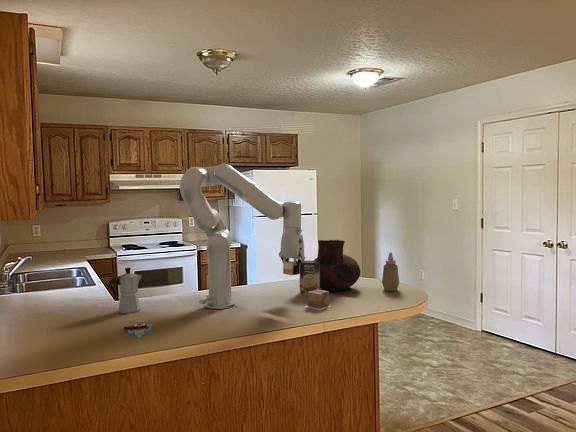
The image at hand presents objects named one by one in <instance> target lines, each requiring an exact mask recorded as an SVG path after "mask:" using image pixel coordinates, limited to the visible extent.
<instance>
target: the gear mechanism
mask: <svg viewBox="0 0 576 432" xmlns="http://www.w3.org/2000/svg"><path fill="white" fill-rule="evenodd" d="M123 331H127V334H134V337H137V339H139V340H140V339H142V336H144V335H145V333H147V332H152V324H146V323H145V315H142V320H141V319H139V320H136V321H135V324H133V325H131V326H124V327H123Z"/></svg>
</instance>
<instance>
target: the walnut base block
mask: <svg viewBox="0 0 576 432" xmlns="http://www.w3.org/2000/svg"><path fill="white" fill-rule="evenodd" d="M329 305H330V291H327V290H323V289H320V290H319V289H317V290H313V291H309V292H308V295H307V306H308V307H313V308H317V309H321V308H324V307H328V306H329ZM308 307H307V308H308ZM328 308H329V307H328ZM317 309H316V310H317Z"/></svg>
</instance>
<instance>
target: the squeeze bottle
mask: <svg viewBox="0 0 576 432" xmlns="http://www.w3.org/2000/svg"><path fill="white" fill-rule="evenodd" d="M396 262H397V260H396V259H394V256H393V252H392V251H390V252H388V258H387V259H385V264H384V265H383V270H382V280H381V284H382V286H383V290H384V291H387V292H396V291H398V288H399V284H400V277H399V266H398V265H397V264H396Z"/></svg>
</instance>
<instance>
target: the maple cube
mask: <svg viewBox="0 0 576 432" xmlns="http://www.w3.org/2000/svg"><path fill="white" fill-rule="evenodd" d="M282 264H283V265H282V274H284V275H287V276H288V275H289V276H294V275H293V266H294V260H289V261H286V262H283V261H282ZM298 275H300V269H299V274H298Z"/></svg>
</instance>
